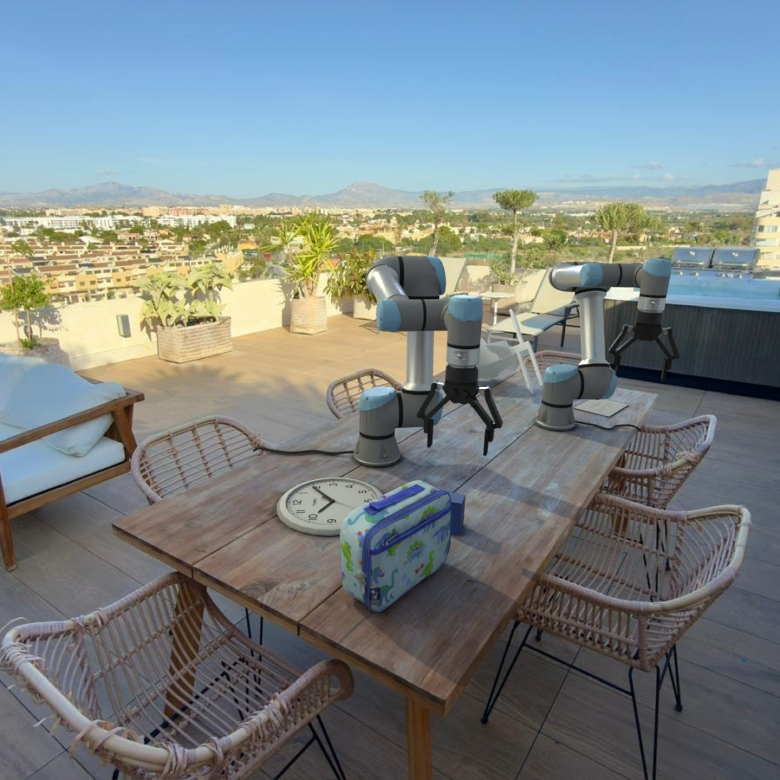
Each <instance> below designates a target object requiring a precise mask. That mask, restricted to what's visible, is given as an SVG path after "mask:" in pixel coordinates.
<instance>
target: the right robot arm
mask: <svg viewBox="0 0 780 780" xmlns="http://www.w3.org/2000/svg"><path fill="white" fill-rule="evenodd" d="M672 266H673V262H672V261H671V260H670V259H667V258H666V259H665V258H647V259H645V261H644V263H642V262H630V263H625V262H624V263H621V262H620V263H613V262H612V263H611V262H610V263H609V262H607V263H606V262H601V261H599V262H598V261H563V262H560V263H557V264H555V265H554V266H553V267H552V268H551V269H550V270H549V273H548V276H547V277H548V282H549V284H550V286H551V287H552V288H553V289H555V290H557V291H560V292H565V293H574V298H575V300H576V301H578V304H579V305H578V306H579V328H580V329H579V330H580V331H579V332H580V333H579V334H580V353H581V355H580V356H581V361H580V362H579V364H577V366H576V365H574V364H566V363H561V364H554V365H550V366H549V367H547V368H546V369H545V371H544V375H543V378H542V379H543V390H542V394H541V402H540V405H539V407H538V410H537V411H536V413H535V416H534V424H535V425H536V426H537V427H539V428H542V429H544V430H549V431H556V432H567V431H572V430H574V429H575V428H576V424H578V425H579V424H580V425H585V426H591V427H596V428H599V429H602V430H604V431H613V430H614V429H615V428H621V427H631V428H634V429H636V430H637V431H642V429H641V428H640V427H638V426H637V425H635V424H631V423H624V424H623V423H621V424H620V423H619V424H615V425H613V426H612V427H605V426H602V425H599V424H596V423H591V422H586V421H579V420H576V418H575V417H576V416H575V413H574V407H573V405H574V400H586V401H588V400H600V399H606V400H609V399H610V398H612V396H613V395H614V393H615V391H616V389H617V385H618V377H619V373H620V365H621V359H622V356H621V354H622V353H623V352H624V351H625V350H627V349H628V348H629V347H630V346H631V345H632V344H634V343H635V342H637V341H641V342H645V341H647V342H653V341H655V343H656V344H657V345H658V347H659V348H660V350H661V351H662V352H663V354H664V355H665V357H666V358H663V363H662V369H661V375H660V379H661V381H666V376H667V371H670V370H671V369H672V363H673V361H674V360H679V359H680V358H681V356H680V353H679V350H678V347H677V345H676V343H675V339H674V336H673V329H672V327H670V326H668V327H663V326H662V325H663V320H664V312H663V311H665V307H666V302H667V296H668V291H669V285H670V281H671V276H672ZM611 288H625V289H626V288H628V289H629V288H630V289H631V288H632V289H640V290H639V294H638V301H637V307H636V308H637V309H638V310H637V311H636V313H635V320H634V324H633V325H628V324H626V323H624V324H623V326H622V330H621V331H620V333H619V334H618V336H617V337H616V339H615V340H614V341H613V342H612V344H611V345H610V347H609V348H608V353H609V354H612V355H613V357H612V358H613V360H612V365H613V366H615V369H613V368H611V364H610V362H608V361H607V360H606V343H605V323H604V301H603V300H604V298H606V296H607V293H608V292H609V291H610V290H611ZM630 331H632V332H633V335H631V336H630V337H629V338H628V339H626V341H625V342H624V343H622V344H621V342H622V340H623V339H624V338H625V336H626V335H627V333H630ZM662 333H663V334H664V335H665V336H666V338H667V341H668V343H669V346H670V349H671V351H672V354H671V353H670V352H669V350H668V349H667V348H666V346H665V345H664V344H663V342H662V341H661V339H660V338H659V336H660V335H661V334H662ZM620 344H621V345H620ZM619 345H620V346H619ZM618 346H619V347H618Z"/></svg>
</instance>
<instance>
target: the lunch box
mask: <svg viewBox="0 0 780 780" xmlns="http://www.w3.org/2000/svg"><path fill="white" fill-rule="evenodd" d="M449 492H450V491H448V490H446V489H438V488H437V487H435V486H434V485H431V484H429V483H427V482H426V481H424V480H421V479H416V480H413V481H410V482H408V483H405V484H403V485H401V486H399V487H397V488H394V489H393V490H390V491H388V492H387V493H383V494H384V495H382V496H380V497H378V498H376V499H374V500H372V501H370V502H368V503H366V504H364V505H362V506H360V507H358V508H356V509H354V510H353V511H351V512H350V513H349V514H348V515H347V516H346V518H345V519H344V521H343V523H342V526H341V530H340V535H339V551H340V574H341V576H340V577H341V585H342V588H343V589H342V590H343V591H344V593H346V594H348V595H350V596H352V597H353V598H355V599H357V600H358V601H359V602H361V603H362V604H364V605H365V606H366V608H367V609H369V610H370V611H371V612H374V613H381V612H384V611H385V610H386V609H387V608H389V607H390V606H391V605H392V604H393V603H395V602H396V601H397V600H399V599H400V598H401V597H402V596H404V595H405V594H407V593H408V592H410V591H411V590H412V589H413V588H415V587H416V586H417V585H418V584H419V583H420V582H421V581H423V580H425V579H426V578H427V577H429V576H430V575H432V574H434V573H435V572H436V571H438V570H439V569H440V568H441V567H442V566H443V565H444V563H445V562H446V560H447V558H448V556H449V553H450V550H451V549H450V548H451V545H452V543H451V542H452V534H451V496H450V493H449Z"/></svg>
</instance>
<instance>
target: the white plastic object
mask: <svg viewBox="0 0 780 780" xmlns="http://www.w3.org/2000/svg"><path fill="white" fill-rule="evenodd" d="M508 311H509V314H510V317H511V320H512V324H513V327H514V330H515V333H516V337H517V340H518V342H519V344H516V345H514V346H512V345H510V344H509V343H508V341H507V340H506V339H503V340H499V341H493V342H490V343H487V342H486V341H485V340H484V339H483V337H481V341H480V357H479V364H477V366H478V367H479V371H478V380H480V379H490V380H492V379H496V378H497V377H498V378H499V377H500V374H502V372H504V371H506V370H507V369H508V368H510V367H511V366H512V365H514V364H515V363H517V362H519V366H520V369H521V373H522V376H523V378H524V382H525V386H526V388H527V389H528V390H529V392H530V393H531V394H532V395H534V388H533V385H532V382H531V379H530V376H529V373H528V370H527V366H526V363H525V360H524V358H525V357H527V356H529V357H530V359H531V360H530V361H531V362H532V365H533V369H534V372H535V375H536V379H537V381H538V384H539V387H540V389H541V390H542V391H543V382H544V381H543V379H544V378H543V375H542V373H541V369H540V367H539V364H538V361H537V358H536V355H535V352H534V349H533V346H532V344H531V342H530V341H529V340H526V341H525V340H524V337H523V335H522V332H521V329H520V325H519V323H518V319H517V316H516V313H515V312H514V310H513V309H512V308H510V309H508Z"/></svg>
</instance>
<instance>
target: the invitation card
mask: <svg viewBox="0 0 780 780" xmlns="http://www.w3.org/2000/svg"><path fill="white" fill-rule="evenodd" d="M628 406H629V404H627V403H623V402H618V401H614V400H609V399H600V400H586V401H584V402H582V403H580V404H578V405H575V406H574V407H573V409H575V410H581V411H584V412H587V413H593V414H596V415H600V416H604V417H608V418H609V417H611V416H613V415H614V414H616V413H617V412H619V411H621V410H623V409H624V408H626V407H628Z"/></svg>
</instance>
